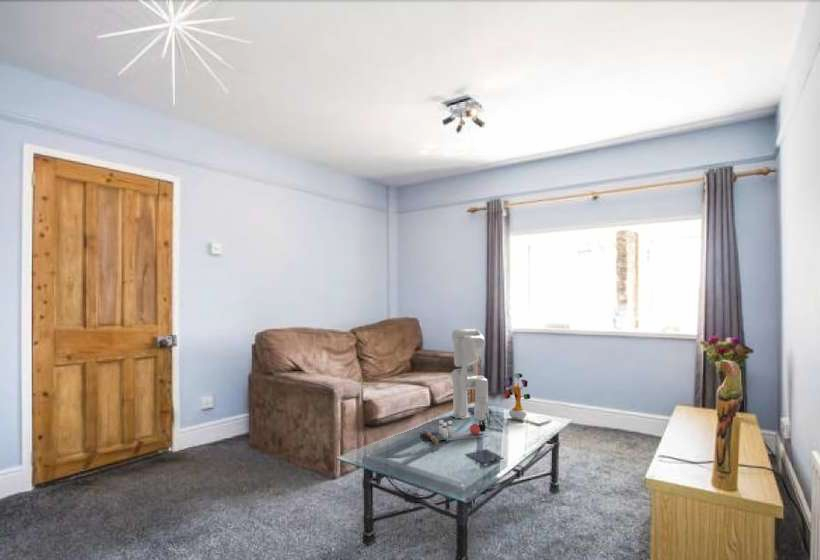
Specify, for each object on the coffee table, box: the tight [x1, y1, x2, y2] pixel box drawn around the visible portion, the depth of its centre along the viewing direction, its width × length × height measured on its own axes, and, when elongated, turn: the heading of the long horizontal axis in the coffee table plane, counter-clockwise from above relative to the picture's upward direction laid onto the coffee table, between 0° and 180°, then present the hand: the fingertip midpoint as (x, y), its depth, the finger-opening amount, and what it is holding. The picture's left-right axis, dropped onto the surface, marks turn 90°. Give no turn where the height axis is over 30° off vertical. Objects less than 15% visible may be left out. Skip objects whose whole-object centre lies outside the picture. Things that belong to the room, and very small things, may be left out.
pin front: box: [447, 420, 453, 437], centre depth 251 cm, size 2×2×9 cm
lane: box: [445, 431, 488, 442], centre depth 253 cm, size 11×30×1 cm, turn 107°
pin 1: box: [438, 419, 444, 435], centre depth 252 cm, size 2×2×9 cm
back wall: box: [423, 429, 440, 446], centre depth 248 cm, size 20×2×2 cm, turn 17°
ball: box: [469, 423, 480, 435], centre depth 255 cm, size 6×6×6 cm
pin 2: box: [442, 422, 448, 439], centre depth 247 cm, size 2×2×9 cm
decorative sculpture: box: [503, 373, 531, 421], centre depth 286 cm, size 20×8×30 cm, turn 37°
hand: (482, 431), depth 257 cm, fingers closed
